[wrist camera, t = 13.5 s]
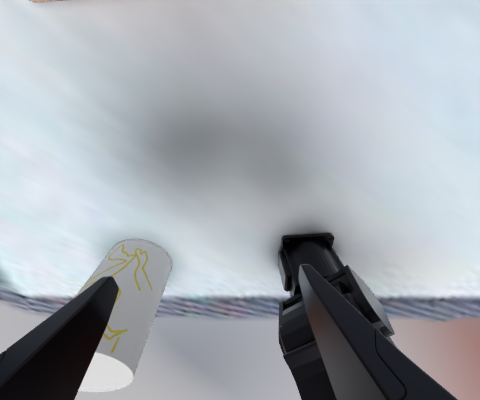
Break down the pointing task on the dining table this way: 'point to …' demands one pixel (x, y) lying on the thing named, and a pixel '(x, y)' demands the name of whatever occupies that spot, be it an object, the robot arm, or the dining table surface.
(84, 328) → the robot arm
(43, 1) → the bin
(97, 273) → the light grey cylinder
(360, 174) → the dining table surface
